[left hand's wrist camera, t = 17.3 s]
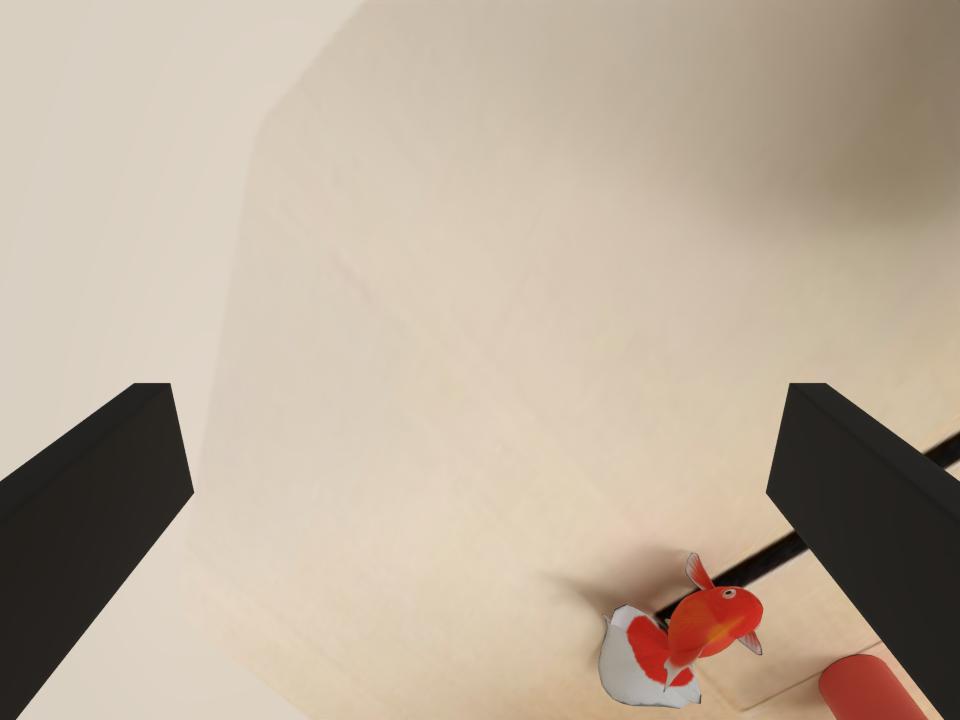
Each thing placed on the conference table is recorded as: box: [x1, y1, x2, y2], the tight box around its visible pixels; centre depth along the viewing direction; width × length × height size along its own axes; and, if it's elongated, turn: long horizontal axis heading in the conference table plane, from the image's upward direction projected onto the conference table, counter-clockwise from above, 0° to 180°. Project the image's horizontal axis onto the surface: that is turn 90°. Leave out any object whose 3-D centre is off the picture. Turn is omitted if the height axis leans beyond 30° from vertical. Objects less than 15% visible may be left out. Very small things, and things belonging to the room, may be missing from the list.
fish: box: [598, 553, 763, 709], centre depth 45 cm, size 11×16×10 cm
